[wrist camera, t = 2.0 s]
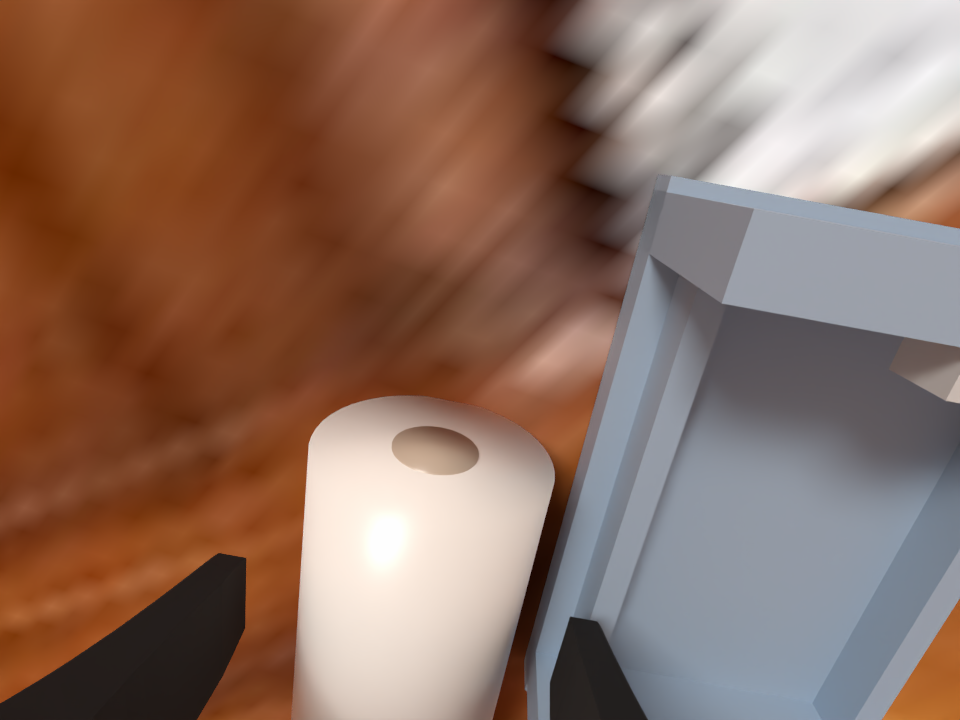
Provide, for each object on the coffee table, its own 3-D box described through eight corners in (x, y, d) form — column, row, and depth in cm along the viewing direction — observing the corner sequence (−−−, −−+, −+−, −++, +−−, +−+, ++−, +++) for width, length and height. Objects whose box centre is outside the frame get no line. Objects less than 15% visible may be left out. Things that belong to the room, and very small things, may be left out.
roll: (491, 651, 16) (480, 850, 11) (329, 620, 16) (252, 807, 11) (548, 416, 13) (565, 553, 9) (352, 379, 13) (260, 497, 9)
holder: (817, 713, 16) (943, 941, 11) (524, 659, 16) (527, 864, 11) (1083, 252, 11) (1502, 319, 6) (657, 174, 11) (763, 182, 6)
